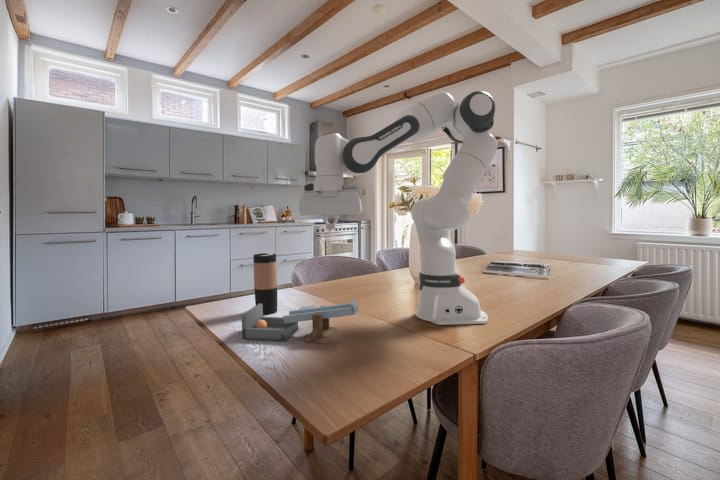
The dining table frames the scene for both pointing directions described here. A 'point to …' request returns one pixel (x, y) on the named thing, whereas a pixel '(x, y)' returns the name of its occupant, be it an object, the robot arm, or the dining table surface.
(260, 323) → the ball
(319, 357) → the dining table surface
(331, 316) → the lever
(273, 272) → the travel mug
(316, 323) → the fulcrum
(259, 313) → the tray
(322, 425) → the dining table surface
